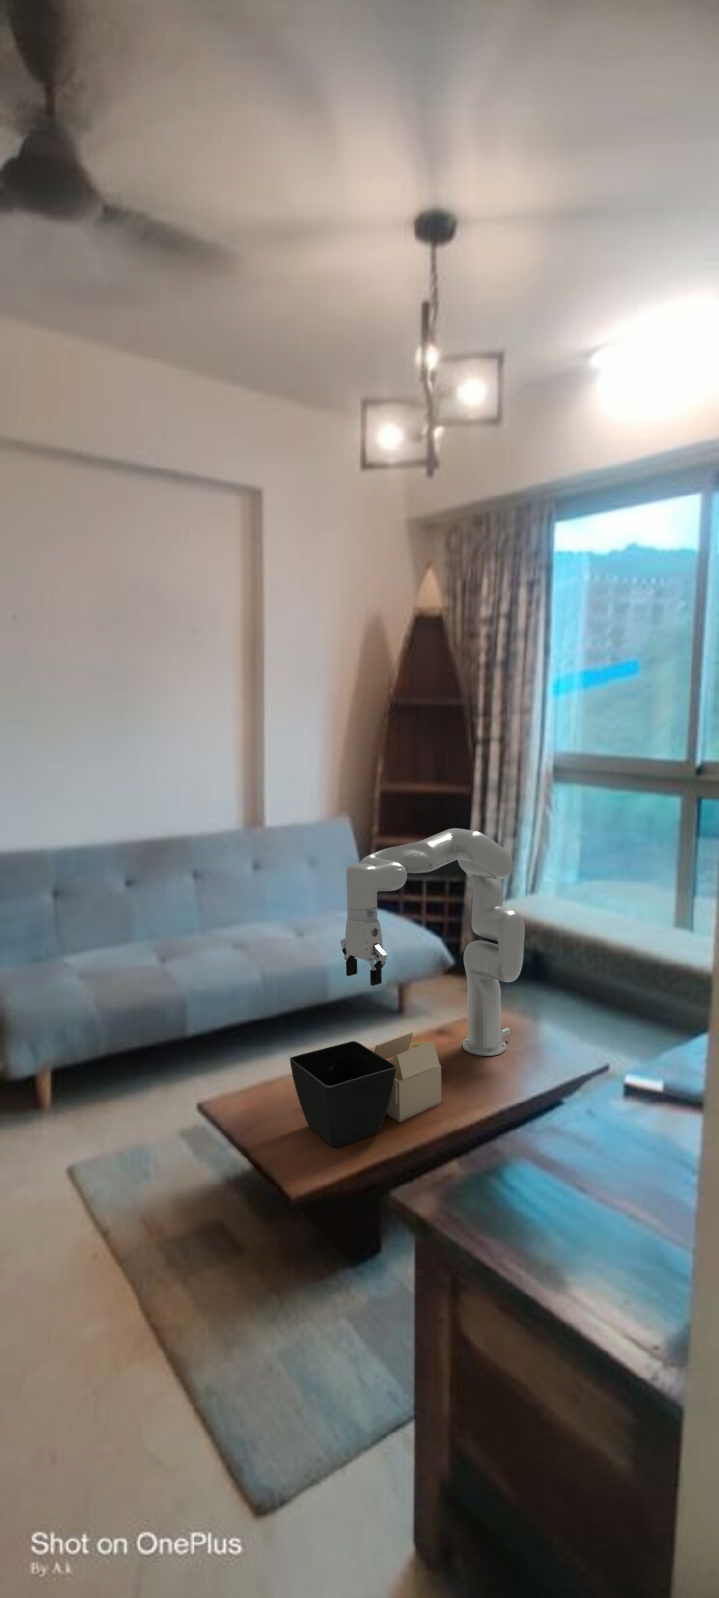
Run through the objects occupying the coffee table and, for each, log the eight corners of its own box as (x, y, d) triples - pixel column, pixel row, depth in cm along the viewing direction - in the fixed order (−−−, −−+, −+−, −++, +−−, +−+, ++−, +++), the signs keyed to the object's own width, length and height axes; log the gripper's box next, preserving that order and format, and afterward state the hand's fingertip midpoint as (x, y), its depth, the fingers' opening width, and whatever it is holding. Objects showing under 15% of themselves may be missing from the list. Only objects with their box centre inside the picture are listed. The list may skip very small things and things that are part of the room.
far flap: (408, 1050, 206) (407, 1049, 206) (413, 1032, 203) (412, 1031, 204) (372, 1064, 198) (371, 1063, 198) (377, 1045, 196) (376, 1044, 196)
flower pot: (356, 1102, 200) (354, 1038, 199) (399, 1134, 185) (398, 1065, 183) (289, 1124, 190) (287, 1057, 189) (329, 1160, 175) (327, 1087, 173)
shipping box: (413, 1087, 207) (412, 1051, 206) (442, 1102, 199) (442, 1064, 198) (369, 1106, 198) (368, 1068, 197) (398, 1123, 190) (397, 1083, 189)
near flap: (432, 1041, 198) (433, 1041, 198) (438, 1064, 197) (439, 1064, 197) (396, 1055, 190) (397, 1055, 190) (402, 1079, 189) (403, 1079, 189)
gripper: (396, 917, 194) (397, 984, 195) (352, 904, 207) (354, 968, 209) (372, 922, 189) (374, 991, 191) (329, 909, 202) (331, 974, 204)
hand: (363, 979), depth 200 cm, fingers open, 9 cm apart
